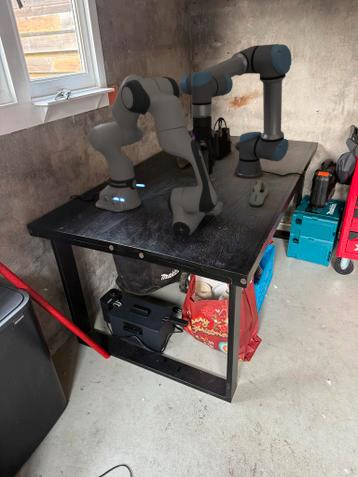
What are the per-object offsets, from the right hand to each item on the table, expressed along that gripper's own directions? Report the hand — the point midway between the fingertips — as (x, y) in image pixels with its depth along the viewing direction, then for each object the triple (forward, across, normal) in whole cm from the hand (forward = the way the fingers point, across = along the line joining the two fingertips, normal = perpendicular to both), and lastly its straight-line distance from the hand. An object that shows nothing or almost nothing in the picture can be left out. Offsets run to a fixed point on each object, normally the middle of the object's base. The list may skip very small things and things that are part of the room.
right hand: (203, 173), depth 139 cm
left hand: (+12, 0, -1) cm, 12 cm away
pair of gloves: (+19, +44, -111) cm, 121 cm away
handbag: (+19, +24, -86) cm, 91 cm away
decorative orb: (+19, +47, -86) cm, 100 cm away
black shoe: (+19, +8, -116) cm, 118 cm away
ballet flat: (+19, -18, -25) cm, 36 cm away
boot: (+19, +40, -64) cm, 78 cm away
